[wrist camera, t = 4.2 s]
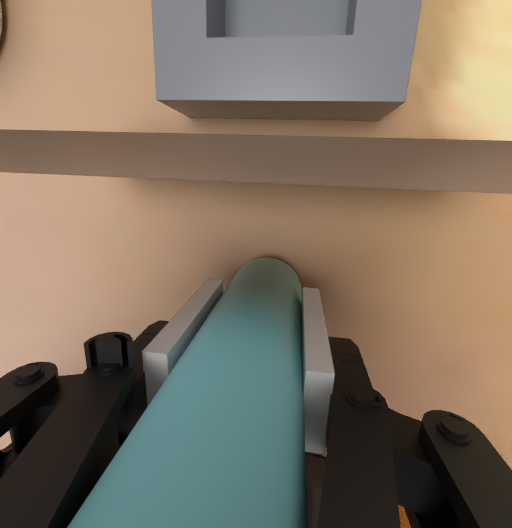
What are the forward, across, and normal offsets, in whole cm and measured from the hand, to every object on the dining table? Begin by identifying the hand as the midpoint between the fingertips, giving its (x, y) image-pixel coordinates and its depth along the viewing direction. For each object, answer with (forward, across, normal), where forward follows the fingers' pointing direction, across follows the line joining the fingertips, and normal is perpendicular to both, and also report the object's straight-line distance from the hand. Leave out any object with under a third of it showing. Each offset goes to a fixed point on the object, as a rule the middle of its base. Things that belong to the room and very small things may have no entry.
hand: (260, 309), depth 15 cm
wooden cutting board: (+4, 0, -7) cm, 8 cm away
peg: (+3, 0, 0) cm, 3 cm away
